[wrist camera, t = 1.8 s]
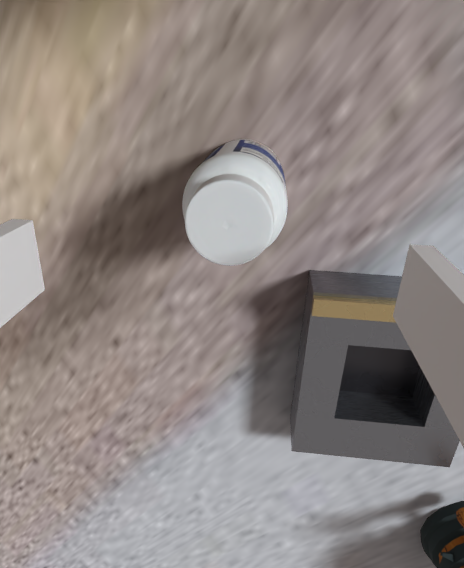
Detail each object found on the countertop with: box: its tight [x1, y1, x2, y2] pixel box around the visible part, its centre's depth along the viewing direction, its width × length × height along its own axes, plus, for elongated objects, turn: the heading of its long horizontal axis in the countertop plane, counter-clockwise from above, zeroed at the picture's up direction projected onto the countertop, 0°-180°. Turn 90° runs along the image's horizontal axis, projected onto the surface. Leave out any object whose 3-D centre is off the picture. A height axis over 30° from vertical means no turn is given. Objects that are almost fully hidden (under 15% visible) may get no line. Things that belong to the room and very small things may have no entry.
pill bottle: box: [182, 139, 288, 266], centre depth 22 cm, size 5×5×10 cm
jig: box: [290, 270, 460, 467], centre depth 30 cm, size 14×12×4 cm
